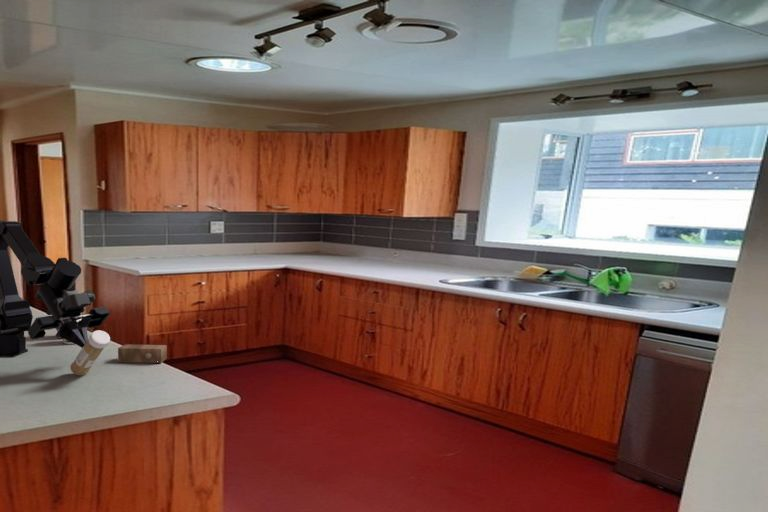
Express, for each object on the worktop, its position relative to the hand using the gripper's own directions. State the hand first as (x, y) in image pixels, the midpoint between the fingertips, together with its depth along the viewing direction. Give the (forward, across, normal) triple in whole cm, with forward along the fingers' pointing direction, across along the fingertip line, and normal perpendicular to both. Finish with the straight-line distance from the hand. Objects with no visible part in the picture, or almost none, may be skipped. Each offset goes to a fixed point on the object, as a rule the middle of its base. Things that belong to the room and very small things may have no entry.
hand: (86, 347), depth 128 cm
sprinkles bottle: (+2, 0, +7) cm, 7 cm away
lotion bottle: (-23, +20, +32) cm, 44 cm away
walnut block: (0, +14, +7) cm, 16 cm away
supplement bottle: (-18, +17, +27) cm, 36 cm away
